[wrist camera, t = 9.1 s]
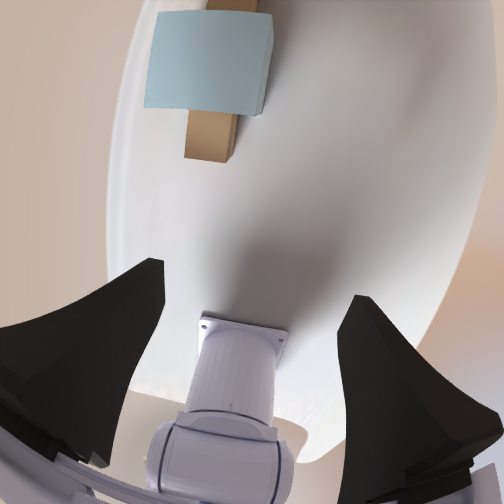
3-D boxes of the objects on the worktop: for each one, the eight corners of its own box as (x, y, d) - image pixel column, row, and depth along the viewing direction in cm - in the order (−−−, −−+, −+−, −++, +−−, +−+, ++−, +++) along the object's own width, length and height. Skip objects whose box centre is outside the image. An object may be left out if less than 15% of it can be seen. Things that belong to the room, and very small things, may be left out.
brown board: (232, 154, 17) (224, 164, 15) (196, 150, 17) (181, 159, 15) (261, -13, 11) (258, -31, 9) (223, -15, 11) (214, -33, 9)
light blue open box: (261, 113, 16) (254, 116, 11) (181, 104, 16) (143, 107, 11) (274, 40, 13) (272, 14, 8) (191, 34, 13) (158, 12, 8)
